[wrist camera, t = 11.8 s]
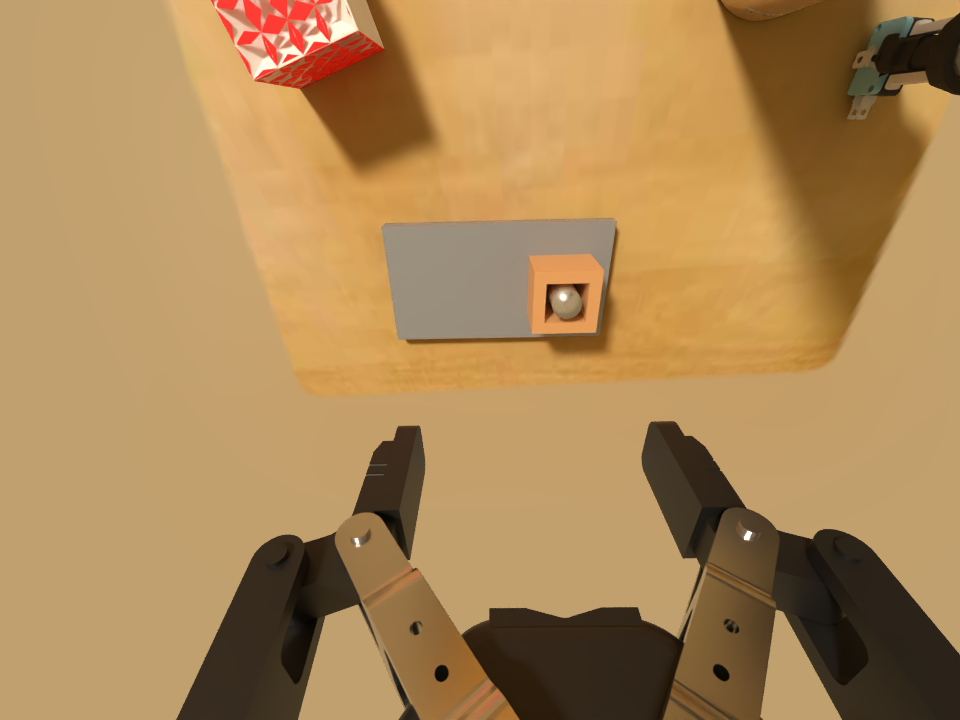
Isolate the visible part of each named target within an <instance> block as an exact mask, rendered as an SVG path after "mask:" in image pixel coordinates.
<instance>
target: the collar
mask: <svg viewBox="0 0 960 720" xmlns="http://www.w3.org/2000/svg"><path fill="white" fill-rule="evenodd" d="M603 276H604V270H603V268H602V267H601V266H600V265H599V264H598V262H597V261H596V260H595V259H594V257H593V256H592V255H591V254H575V255H537V256H529V270H528V299H527V314H528V319H529V323H530V328H531V332H532V334H557V333H596V328H597V321H598V313H599V306H600V298H601V291H602V284H603ZM576 283H577V285H576V290H577V292H578V294H579V296H580V298H581V300H582V308H581V311H580V312H579V313H578V314H577V315H576V316H575V317H573V318H570V319H562V318H560V317H558V316H557V315H556V314H555V313H554V311H553V308H552V305H551V302H546V286H547V284H576Z"/></svg>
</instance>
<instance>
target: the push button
mask: <svg viewBox="0 0 960 720" xmlns="http://www.w3.org/2000/svg"><path fill="white" fill-rule="evenodd" d="M938 33H939V34H938ZM933 34H938V35H933ZM861 56H863V58H862V60H861V62H860V63H859V64H858V60H859V58H860V57H861ZM855 68H858V69H857V71H856V74H855V76H854V78H853V80H852V83H851V85H850V87H849V89H848V92H847V94H848V95H852V96H855V97H854V99H853V102H852V104H853V106H852V108H851V110H850V112H849V114H848V116H847V119H850V120H855V119H859V120H864V119H865V118H866V116H867V114H868V112H869V110H870V108H871V106H872V104H874V103H875V101H876V99H877V97H878V96H895V95H897V94H898V93H899V92H900V90H901V88H902V86H903V85H905V84H916V83H927V82H929V84H930V85H931V86H934V87H936V88H939V89H942V90H944V91H947V92H949V93H951V94H954V95H960V13H959V14H958V15H956V16H955V17H952V18H947V19H943V20H938V21H935V20H934V19H930V18H917V17H902V18H898V19H894V20H890V21H886V22H881V23H879V24H878V25H877V26H876V28H875V30H874V32H873V35H872V37H871V40H870V42H869V44H868V47H867V49H866V51H862V52H859V53H858V54H857V56H856V58H855V61H854V63H853V65H852V69H855ZM854 110H857V112H856V114H855V115H852V112H853V111H854ZM862 110H866V112H865V114H864V115H861V112H862Z"/></svg>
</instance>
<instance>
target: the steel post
mask: <svg viewBox="0 0 960 720" xmlns="http://www.w3.org/2000/svg"><path fill="white" fill-rule="evenodd" d="M546 292H547V294H548V297H549V300H550V302H551V305H552V308H553V311H554V313H555V314H556V315H557V316H558V317H560V318H562V319H570V318H573V317H575V316H576V315H577V314H578V313H579V312H580V311H581V308H582V300H581V298H580V296H579V294H578V292H577V290H576V289H575V287H574V285H573V284H547V286H546Z"/></svg>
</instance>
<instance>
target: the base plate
mask: <svg viewBox="0 0 960 720" xmlns="http://www.w3.org/2000/svg"><path fill="white" fill-rule="evenodd" d="M615 228H616V221H615V220H614V219H613V218H596V219H554V220H512V221H470V222H428V223H386V224H384V225H383V226H382V233H383V240H384V247H385V254H386V261H387V267H388V274H389V281H390V288H391V295H392V301H393V308H394V315H395V322H396V328H397V335H398V340H402V339H457V338H512V337H567V336H600V331H601V324H602V317H603V310H604V303H605V297H606V290H607V283H608V276H609V269H610V262H611V255H612V249H613V242H614V235H615ZM575 254H591V255H592V256H593V257H594V259H595V260H596V261H597V262H598V264H599V265H600V266H601V267H602V268H603V270H604V276H603V284H602V291H601V298H600V306H599V313H598V321H597V328H596V333H557V334H532V332H531V328H530V323H529V319H528V314H527V299H528V270H529V256H537V255H575ZM573 285H574V287H575V289H576V285H577V283H576V284H573ZM546 302H550V300H549V297H548V294H547V292H546Z"/></svg>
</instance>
